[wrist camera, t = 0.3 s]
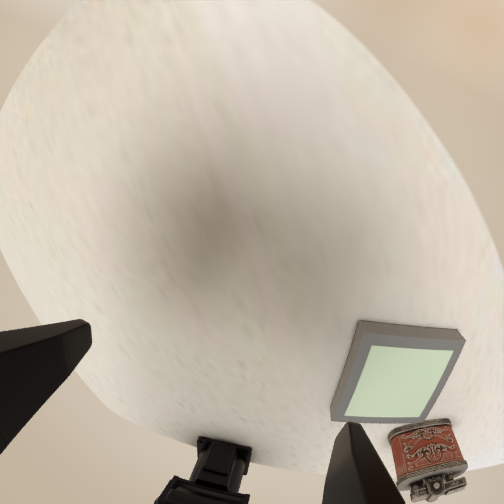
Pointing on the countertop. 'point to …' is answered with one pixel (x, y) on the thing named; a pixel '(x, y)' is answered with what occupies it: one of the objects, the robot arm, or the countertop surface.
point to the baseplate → (394, 373)
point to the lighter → (427, 459)
